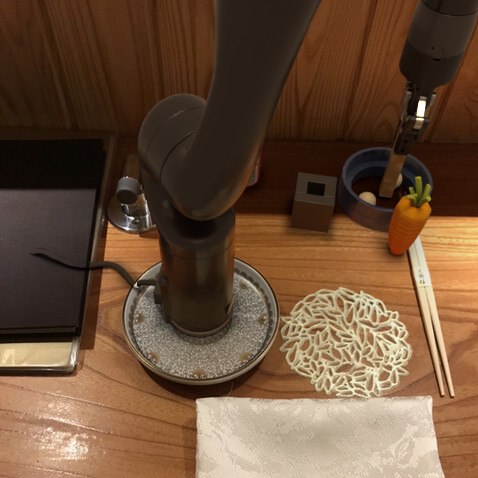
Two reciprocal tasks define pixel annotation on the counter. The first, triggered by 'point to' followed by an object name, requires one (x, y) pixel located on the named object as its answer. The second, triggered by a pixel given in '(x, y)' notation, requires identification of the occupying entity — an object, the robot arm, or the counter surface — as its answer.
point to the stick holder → (313, 202)
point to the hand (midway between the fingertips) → (400, 147)
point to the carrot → (409, 218)
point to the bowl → (375, 165)
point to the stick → (391, 173)
